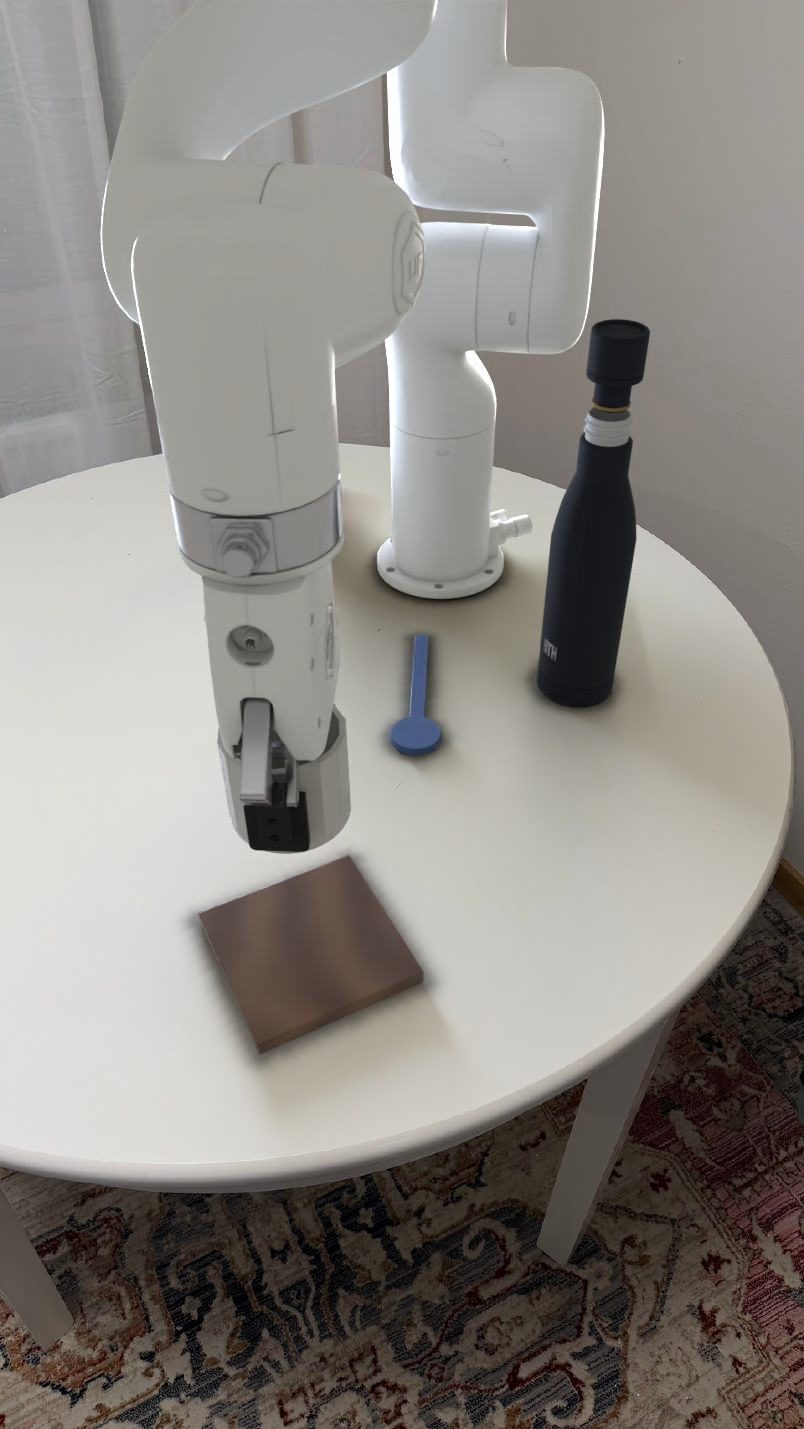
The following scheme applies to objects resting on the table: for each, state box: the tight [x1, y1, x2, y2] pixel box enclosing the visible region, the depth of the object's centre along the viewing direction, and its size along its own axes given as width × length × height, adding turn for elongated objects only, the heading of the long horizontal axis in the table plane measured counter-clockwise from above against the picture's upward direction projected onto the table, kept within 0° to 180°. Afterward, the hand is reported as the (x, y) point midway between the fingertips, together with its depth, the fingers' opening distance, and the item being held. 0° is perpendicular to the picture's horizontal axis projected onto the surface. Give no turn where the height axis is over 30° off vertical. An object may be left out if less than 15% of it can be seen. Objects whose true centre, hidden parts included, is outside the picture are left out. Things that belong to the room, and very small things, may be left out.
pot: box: [216, 702, 352, 855], centre depth 55 cm, size 7×7×6 cm
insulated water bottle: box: [536, 318, 651, 708], centre depth 76 cm, size 6×6×30 cm
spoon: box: [390, 634, 442, 756], centre depth 85 cm, size 16×4×1 cm, turn 177°
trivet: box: [197, 854, 424, 1055], centre depth 65 cm, size 11×11×1 cm
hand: (290, 794), depth 57 cm, fingers closed on pot, 7 cm apart
